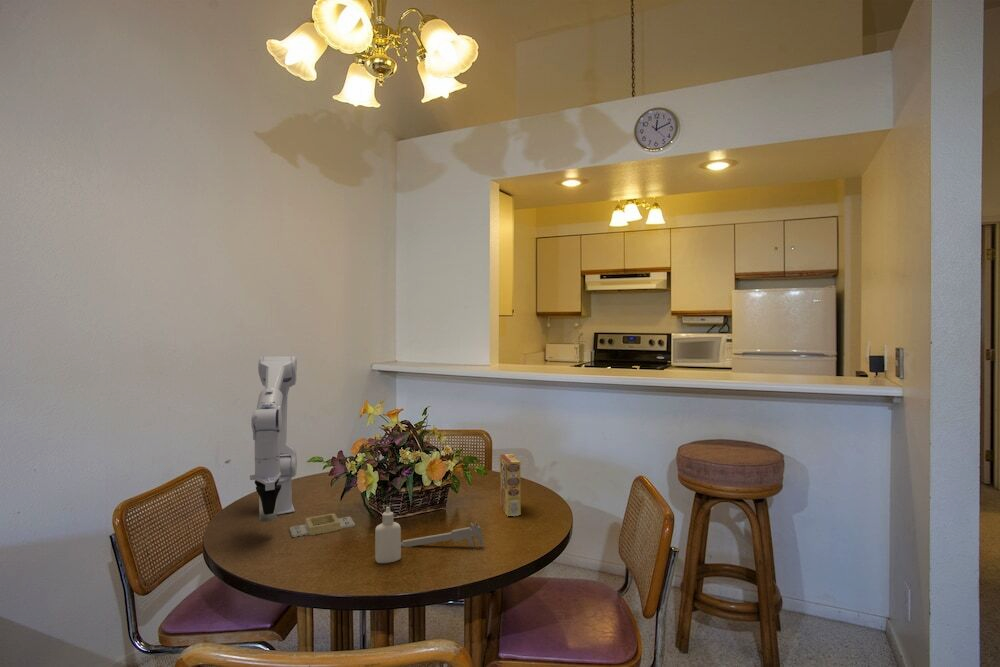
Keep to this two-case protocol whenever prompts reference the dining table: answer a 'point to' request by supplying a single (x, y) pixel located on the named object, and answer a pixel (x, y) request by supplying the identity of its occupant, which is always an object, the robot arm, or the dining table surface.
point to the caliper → (448, 537)
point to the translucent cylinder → (269, 516)
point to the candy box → (510, 485)
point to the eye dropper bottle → (387, 539)
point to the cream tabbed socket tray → (323, 528)
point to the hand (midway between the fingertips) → (268, 510)
